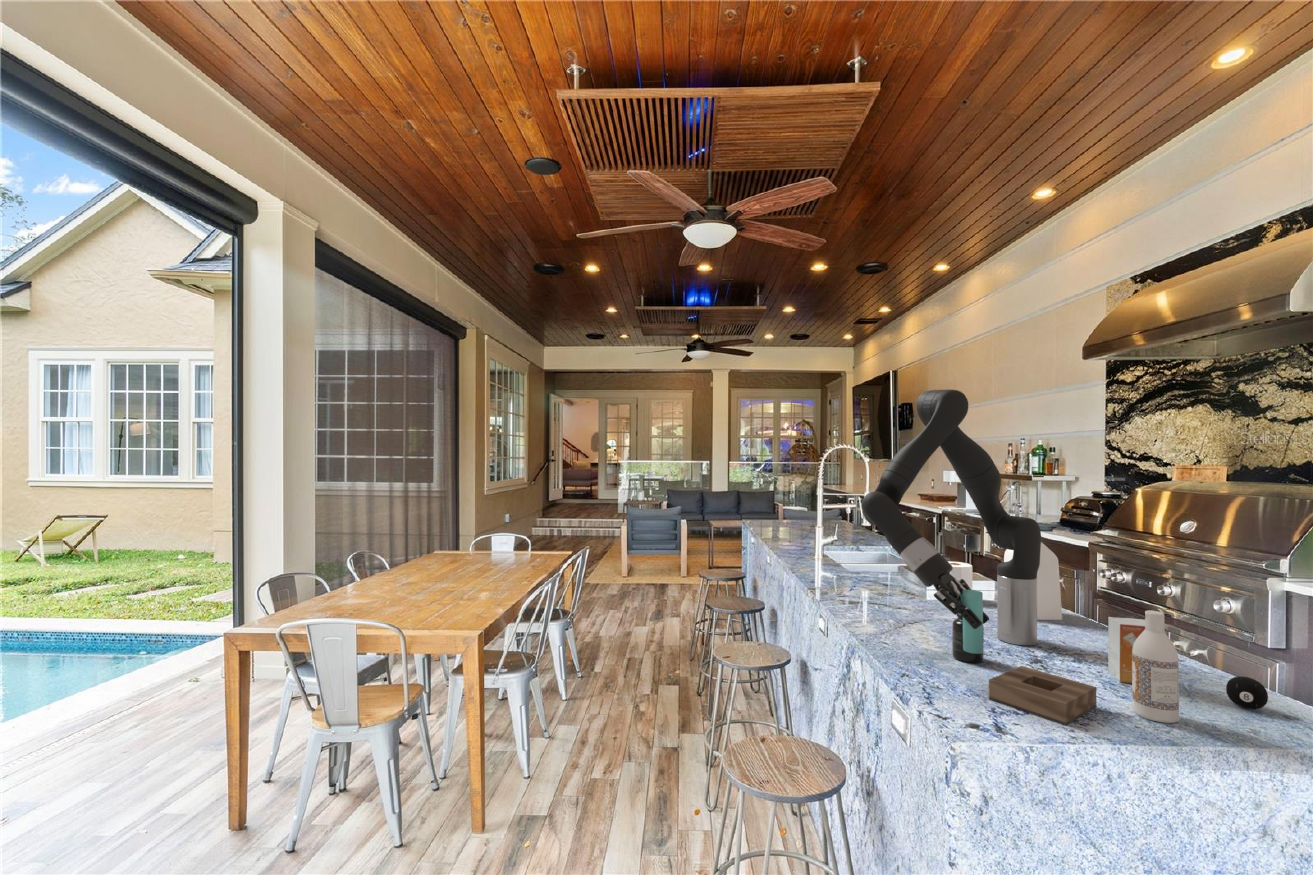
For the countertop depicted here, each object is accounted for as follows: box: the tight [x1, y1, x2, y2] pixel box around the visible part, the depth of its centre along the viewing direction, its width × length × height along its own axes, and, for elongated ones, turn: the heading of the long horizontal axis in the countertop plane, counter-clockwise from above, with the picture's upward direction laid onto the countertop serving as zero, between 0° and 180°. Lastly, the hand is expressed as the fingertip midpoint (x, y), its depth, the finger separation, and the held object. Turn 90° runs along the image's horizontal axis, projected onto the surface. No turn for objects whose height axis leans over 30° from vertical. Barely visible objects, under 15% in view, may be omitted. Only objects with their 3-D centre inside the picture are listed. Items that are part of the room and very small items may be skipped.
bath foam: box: [1131, 610, 1180, 724], centre depth 116 cm, size 7×7×20 cm
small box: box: [1107, 616, 1145, 684], centre depth 134 cm, size 8×6×13 cm
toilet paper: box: [947, 560, 973, 590], centre depth 205 cm, size 10×10×12 cm
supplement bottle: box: [951, 613, 985, 664], centre depth 147 cm, size 7×7×12 cm
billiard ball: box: [1225, 675, 1269, 710], centre depth 120 cm, size 6×6×6 cm
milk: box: [1003, 541, 1063, 621], centre depth 187 cm, size 12×12×26 cm
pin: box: [962, 589, 984, 654], centre depth 133 cm, size 4×4×13 cm
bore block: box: [988, 665, 1097, 726], centre depth 122 cm, size 14×14×4 cm
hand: (982, 623), depth 132 cm, fingers closed on pin, 4 cm apart
